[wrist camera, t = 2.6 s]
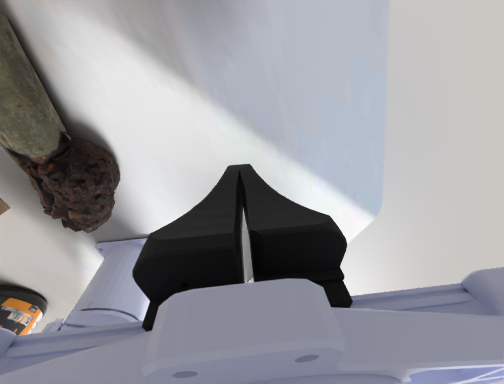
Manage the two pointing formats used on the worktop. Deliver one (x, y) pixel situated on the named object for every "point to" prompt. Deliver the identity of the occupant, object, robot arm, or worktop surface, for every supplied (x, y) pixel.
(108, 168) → the metal pipe
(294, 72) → the worktop surface
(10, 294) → the supplement container
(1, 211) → the light wooden open box
